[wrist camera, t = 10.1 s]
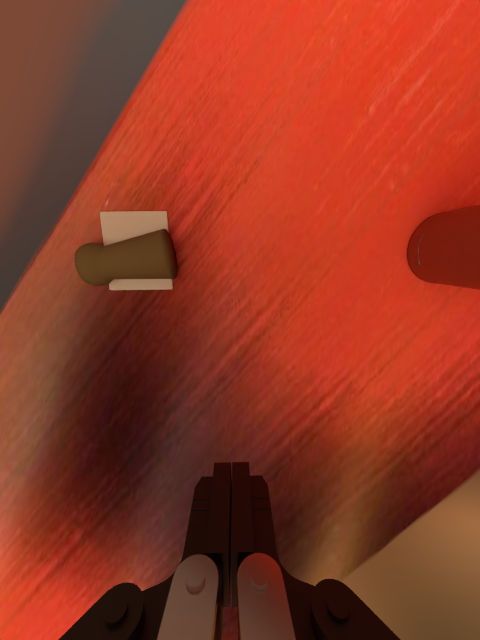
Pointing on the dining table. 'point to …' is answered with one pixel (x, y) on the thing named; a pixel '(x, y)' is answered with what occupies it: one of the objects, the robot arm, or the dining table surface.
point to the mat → (130, 226)
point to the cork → (128, 259)
